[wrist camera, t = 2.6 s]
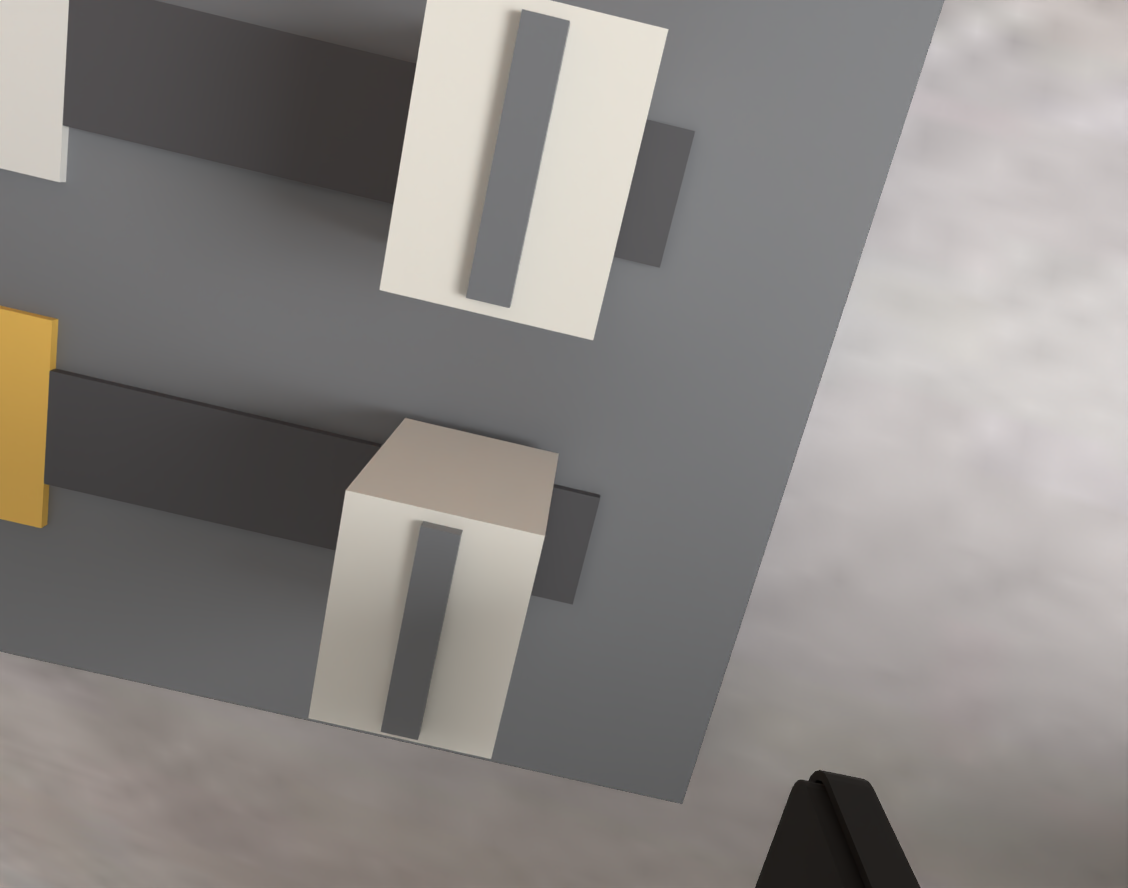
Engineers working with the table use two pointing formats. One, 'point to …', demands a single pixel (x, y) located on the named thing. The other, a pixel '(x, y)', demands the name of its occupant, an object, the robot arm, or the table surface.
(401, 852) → the table surface
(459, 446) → the slider
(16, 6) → the switch unit
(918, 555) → the table surface
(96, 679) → the table surface
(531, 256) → the slider
